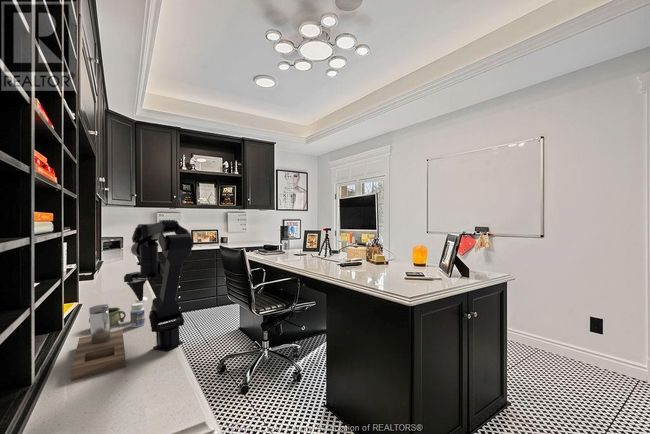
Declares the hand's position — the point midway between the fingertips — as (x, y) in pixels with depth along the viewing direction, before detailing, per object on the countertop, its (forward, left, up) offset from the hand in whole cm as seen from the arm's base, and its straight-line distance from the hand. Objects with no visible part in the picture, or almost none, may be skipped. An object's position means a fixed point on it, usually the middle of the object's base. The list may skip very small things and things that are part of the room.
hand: (150, 301), depth 112 cm
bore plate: (+1, +18, -12) cm, 21 cm away
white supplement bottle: (+19, -12, -12) cm, 26 cm away
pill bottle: (+14, -6, -12) cm, 20 cm away
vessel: (+25, -2, -12) cm, 28 cm away
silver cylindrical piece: (+5, +14, -9) cm, 18 cm away
